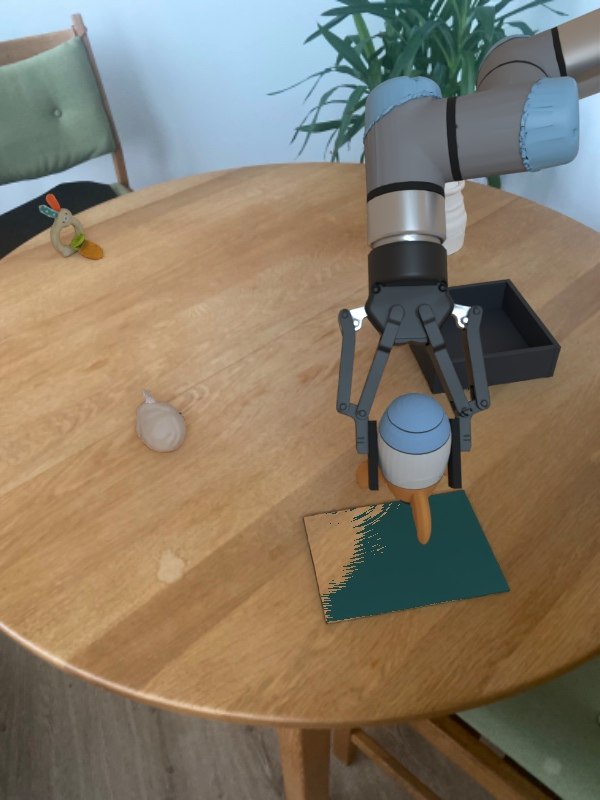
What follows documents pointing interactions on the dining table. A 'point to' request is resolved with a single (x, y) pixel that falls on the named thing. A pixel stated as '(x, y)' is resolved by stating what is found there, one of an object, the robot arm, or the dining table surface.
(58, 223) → the rattle
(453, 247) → the honey pot
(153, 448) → the garlic bulb
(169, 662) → the dining table surface
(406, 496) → the toy rocket
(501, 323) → the tub
